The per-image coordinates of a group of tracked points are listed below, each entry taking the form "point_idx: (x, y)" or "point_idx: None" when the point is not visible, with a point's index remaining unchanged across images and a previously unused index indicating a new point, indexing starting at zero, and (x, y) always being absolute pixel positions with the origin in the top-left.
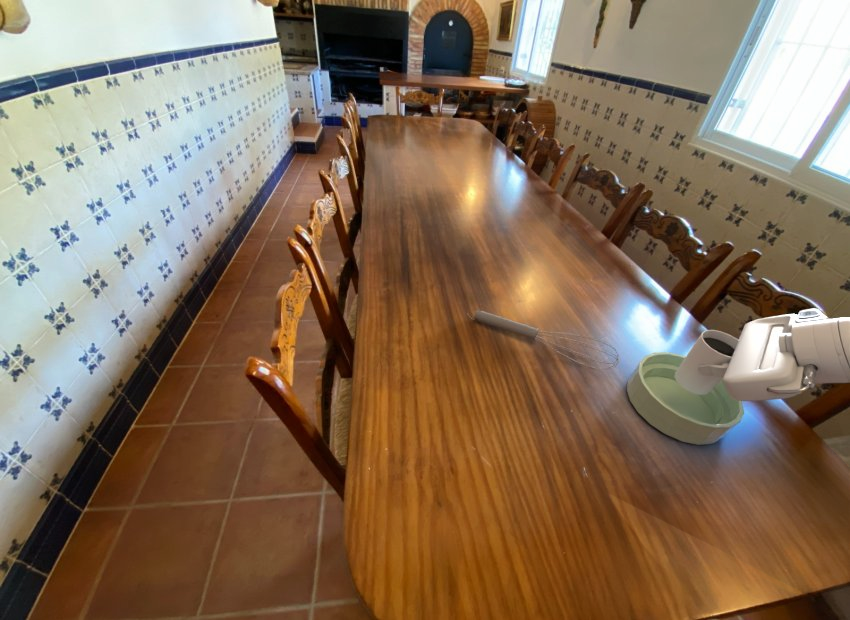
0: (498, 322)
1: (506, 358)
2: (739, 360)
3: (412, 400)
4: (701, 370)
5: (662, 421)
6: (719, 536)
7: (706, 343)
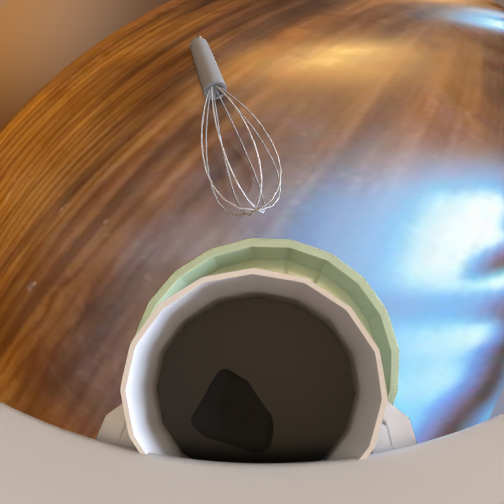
0: (194, 56)
1: (149, 106)
2: (82, 473)
3: (42, 111)
4: None
5: None
6: None
7: (254, 330)
